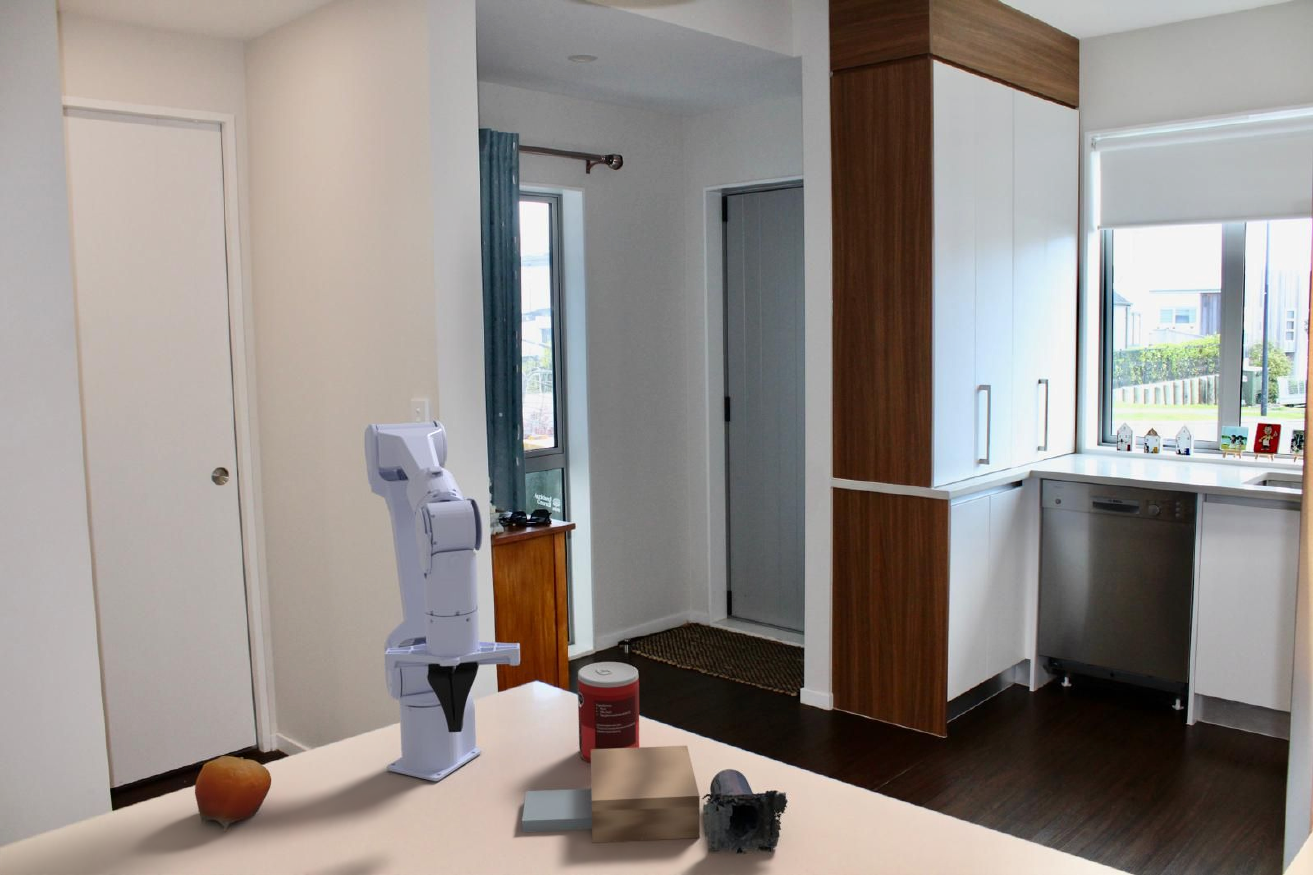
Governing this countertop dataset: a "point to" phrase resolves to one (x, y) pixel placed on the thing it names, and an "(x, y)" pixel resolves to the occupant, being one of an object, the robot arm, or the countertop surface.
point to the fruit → (231, 789)
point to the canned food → (608, 707)
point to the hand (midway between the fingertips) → (455, 728)
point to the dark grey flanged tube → (741, 814)
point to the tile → (557, 810)
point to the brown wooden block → (643, 794)
